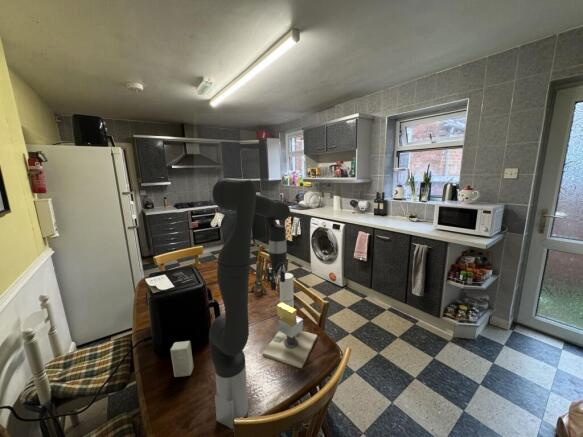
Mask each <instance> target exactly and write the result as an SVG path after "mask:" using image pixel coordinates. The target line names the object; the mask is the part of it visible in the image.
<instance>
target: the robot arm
mask: <svg viewBox="0 0 583 437" xmlns="http://www.w3.org/2000/svg"><path fill="white" fill-rule="evenodd" d="M212 200H213V202H214V205H216V206H217V207H218V208H220V209H222V210H225V211H229V212H230V211H231V212H232V211H233V212H235V214H236V215H235V221H234V227H233V230H232V231H231V234H230V236H229V237H228V238H227V239H226V242H225V243H224V244H223V245H222V247H221V248H220V251H219V252H218V255H217V256H218V257H217V268H216V273H217V274H216V277H217V279H216V280H217V284H218V289H219V292H220V296H221V299H222V303H223V306H224V313H222V314H220V315H219V316H217V317H216V318H215V319H214V320H213V322H212V323H211V326H210V328H209V333H208V341H209V348H210V349H209V350H210V357H211V361H212V363H213V367H214V373H215V384H216V386H215V387H216V393H215V395H214V403H215V404H214V406H215V413H216V415H215V417H216V421H217V422H218V423H220V424H222V425H224V426H226V427H228V428H230V429H234V427H233V420H234V419H235V418H240V417H245V418H246V417H247V414H248V410H249V404H248V387H247V385H248V384H247V367H246V355H245V353H244V351H243V350H244V349H245V347H246V346H247V343H248V339H249V334H250V330H249V329H250V326H249V323H250V322H249V307H248V305H249V280H250V271H251V270H250V269H251V268H250V267H251V246H252V245H251V244H252V232H253V226H254V225H253V223H254V219H255V215H258V216H261V217H264V218H265V221H266V225H267V228H268V261H269V262H270V263H271V267H270V266H269V267H267V281H266V282H268V283H270V290H271V291H276V290H277V279H278V278H279V276H280V278H279V282H280V281H281V282H285V274H286V273H287V272H288V270H289V269H288V266H289V265H288V258H287V256H288V255H287V254H288V253H287V240H286V239H287V235H286V234H287V233H286V232H287V231H286V230H287V229H286V226H284V225H281V224H279V223H277V221H285V220H287V219H288V218H289V217H290V215H291V209H290V207H289V205H288V204H286V203H285V202H281V201H277V200H273V199H272V198H269V197H266V196H264V195H260V194H257V189H256V185H255V183H254V181H252V180H251V179H247V178H245V179H244V178H229V177H228V178H227V177H226V178H222V179H220V180H218V181H216V183H214V186H213V188H212Z"/></svg>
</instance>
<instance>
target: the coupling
mask: <svg viewBox="0 0 583 437" xmlns="http://www.w3.org/2000/svg"><path fill="white" fill-rule="evenodd" d="M276 313H277V314H276V315H277V316H278V317H279V318H280V317H282V318H281V319H279V320H278V332H279V331H281V332H282V333H284V334H286V335H287V336H289V337H291V338H292V337H294V336H295V335H296V334H298V333H299V332H300V331H303V330H304V319H303V318H301V317H299V316H298V315H297V309H296V308H292V307H290V306H288V305H286V304H284V303H280V302H279V303H278V304H277V305H276Z"/></svg>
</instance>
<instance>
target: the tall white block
mask: <svg viewBox="0 0 583 437" xmlns="http://www.w3.org/2000/svg"><path fill="white" fill-rule="evenodd" d="M278 278H279V279H280V275H279V276H278ZM280 303H284V304H286V305H288V306H290V307H292V308H294V305H295V304H294V275H293V273H291V272H286V274H285V282H281V281H280V280H279V304H280ZM294 309H295V308H294ZM279 318H280V319H281V318H282V317H280V316H279ZM280 319H279V320H280Z"/></svg>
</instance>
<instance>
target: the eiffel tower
mask: <svg viewBox="0 0 583 437" xmlns="http://www.w3.org/2000/svg"><path fill="white" fill-rule="evenodd" d="M258 258H259V257H258V256H257V261H256V262H255V265H256V269H255V270H256V271H255V274H256V275H255V277H254V279H255V280H254V283H253V285H252V286H251V288H250V289H249V290H250V291H253V292H252V295H251V296H253V297H254V298H258V295H257V294H258V290H260V289H262V290H261V291H263V294H264V295H265V294H267V292H268V291H267V290H266V287H265V286H264V284H263V282H262V280H263V278H262V277H261V271H260V261H259V259H258ZM264 287H265V288H264ZM250 291H249V292H250ZM253 297H252V298H253Z"/></svg>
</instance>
